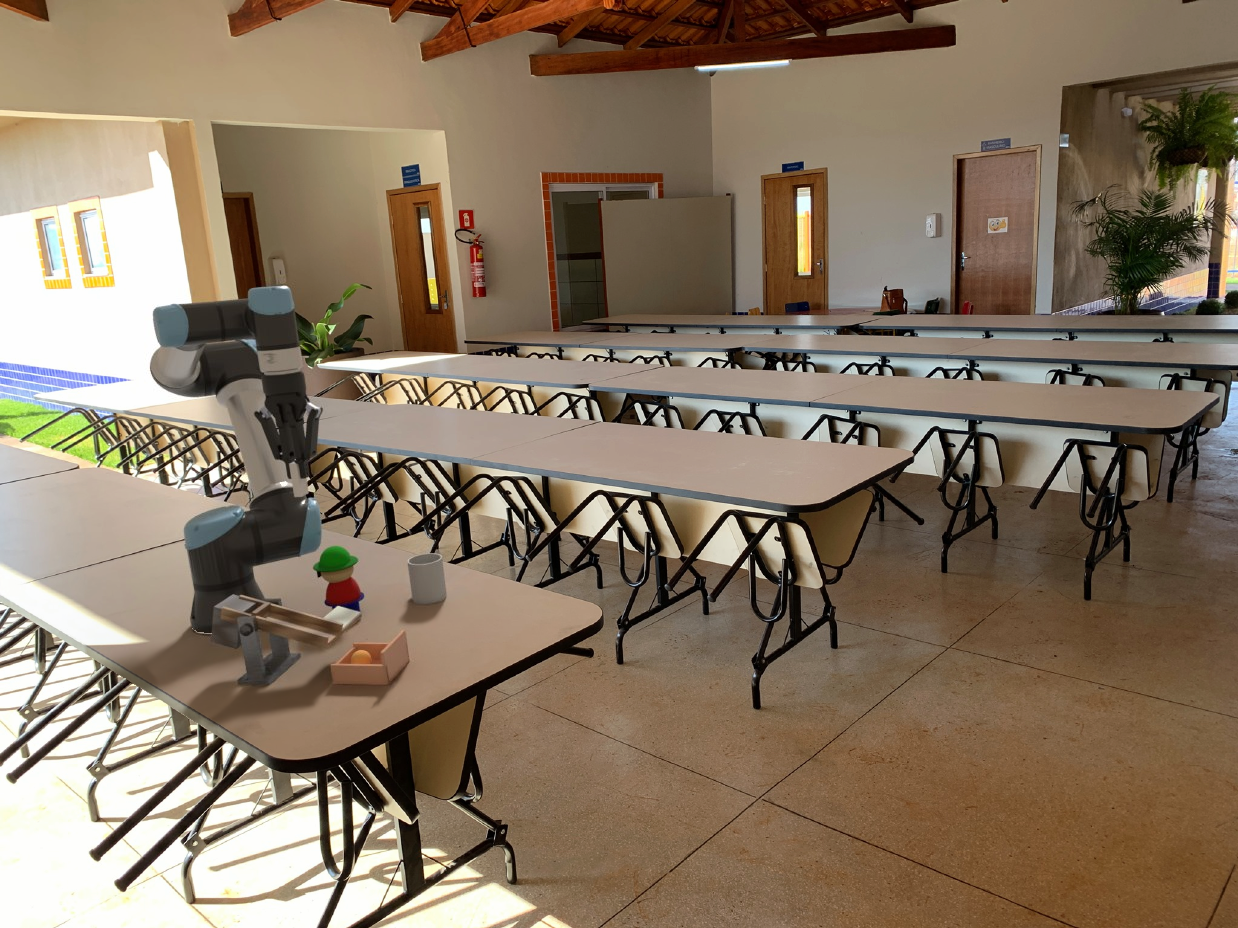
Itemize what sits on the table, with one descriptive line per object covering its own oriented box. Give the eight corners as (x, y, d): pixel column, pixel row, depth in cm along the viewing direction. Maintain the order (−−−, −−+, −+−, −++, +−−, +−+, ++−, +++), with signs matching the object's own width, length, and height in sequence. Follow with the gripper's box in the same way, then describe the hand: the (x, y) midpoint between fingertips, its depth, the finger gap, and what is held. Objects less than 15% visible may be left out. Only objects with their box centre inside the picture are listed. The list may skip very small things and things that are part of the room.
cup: (422, 607, 189) (417, 567, 187) (400, 596, 196) (395, 557, 194) (453, 597, 193) (448, 557, 191) (430, 586, 201) (425, 548, 199)
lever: (209, 642, 161) (212, 604, 159) (254, 611, 175) (258, 574, 173) (321, 675, 159) (326, 636, 156) (358, 640, 172) (363, 604, 170)
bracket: (237, 684, 159) (226, 620, 157) (271, 656, 170) (261, 596, 167) (268, 684, 158) (257, 620, 156) (300, 656, 169) (291, 596, 166)
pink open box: (333, 683, 157) (328, 651, 156) (357, 659, 166) (352, 629, 164) (388, 684, 155) (383, 652, 154) (409, 660, 164) (405, 629, 163)
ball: (368, 660, 158) (362, 676, 159) (377, 651, 161) (371, 667, 162) (350, 652, 158) (344, 668, 159) (359, 643, 162) (353, 659, 163)
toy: (333, 628, 181) (322, 557, 178) (314, 617, 188) (303, 548, 184) (373, 613, 187) (363, 544, 184) (354, 604, 193) (344, 537, 190)
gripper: (238, 376, 165) (259, 501, 170) (304, 373, 162) (323, 499, 168) (261, 370, 172) (280, 490, 177) (324, 367, 169) (342, 488, 175)
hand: (301, 494), depth 172 cm, fingers closed
